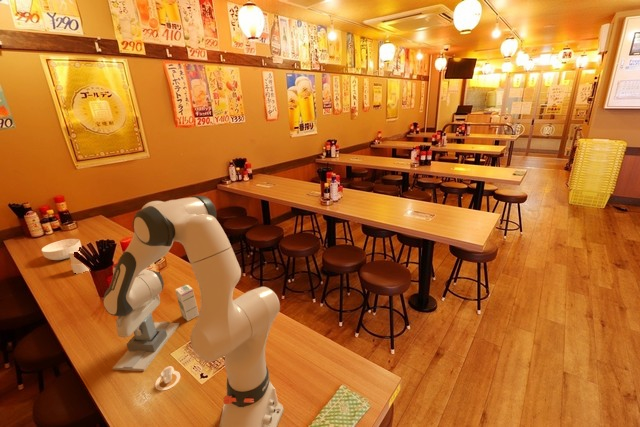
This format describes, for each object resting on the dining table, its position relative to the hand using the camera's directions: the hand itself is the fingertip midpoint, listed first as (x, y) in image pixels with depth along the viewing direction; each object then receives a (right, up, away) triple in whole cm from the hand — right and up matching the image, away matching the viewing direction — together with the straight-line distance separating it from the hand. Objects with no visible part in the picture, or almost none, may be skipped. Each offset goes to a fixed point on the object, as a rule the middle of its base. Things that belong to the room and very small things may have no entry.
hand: (144, 329), depth 118 cm
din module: (0, -3, +1) cm, 4 cm away
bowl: (-100, +17, +81) cm, 130 cm away
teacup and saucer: (+18, -12, -11) cm, 24 cm away
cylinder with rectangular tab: (-73, +11, +63) cm, 97 cm away
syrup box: (+10, -1, +19) cm, 21 cm away
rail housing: (0, -7, +3) cm, 8 cm away
